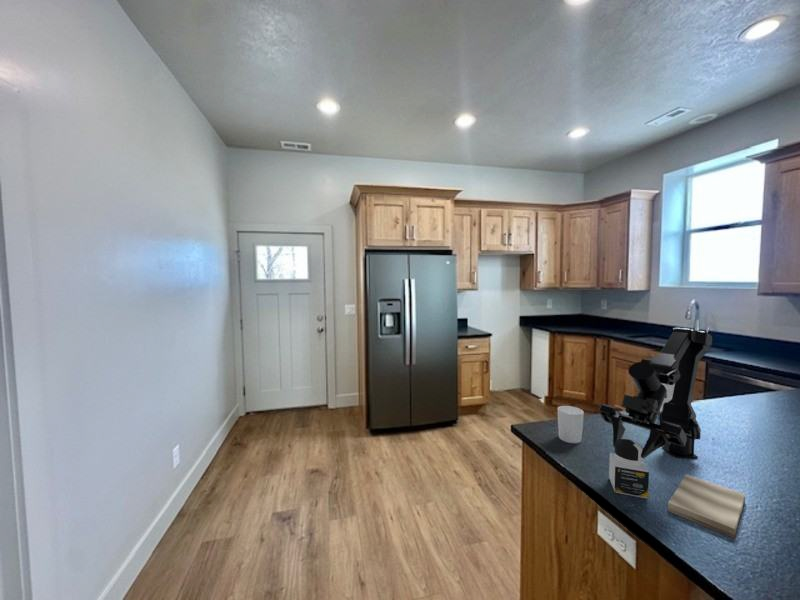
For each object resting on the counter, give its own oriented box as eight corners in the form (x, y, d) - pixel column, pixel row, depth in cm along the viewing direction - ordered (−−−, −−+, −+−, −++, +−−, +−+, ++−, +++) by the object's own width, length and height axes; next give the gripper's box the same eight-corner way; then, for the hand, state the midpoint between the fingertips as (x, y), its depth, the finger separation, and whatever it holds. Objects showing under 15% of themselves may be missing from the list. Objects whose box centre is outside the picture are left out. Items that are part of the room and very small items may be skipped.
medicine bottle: (614, 492, 85) (615, 446, 84) (608, 477, 92) (609, 434, 91) (648, 499, 82) (650, 451, 82) (640, 483, 89) (641, 438, 88)
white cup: (586, 445, 110) (587, 415, 110) (560, 443, 112) (560, 413, 111) (578, 434, 118) (579, 406, 117) (554, 433, 119) (555, 405, 119)
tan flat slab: (685, 481, 90) (686, 474, 89) (745, 502, 81) (745, 494, 81) (667, 511, 78) (668, 502, 78) (734, 538, 70) (734, 528, 70)
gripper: (602, 375, 96) (579, 422, 91) (684, 393, 81) (662, 451, 75) (615, 397, 101) (594, 443, 95) (695, 418, 85) (675, 475, 80)
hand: (627, 451), depth 86 cm, fingers closed on medicine bottle, 6 cm apart
